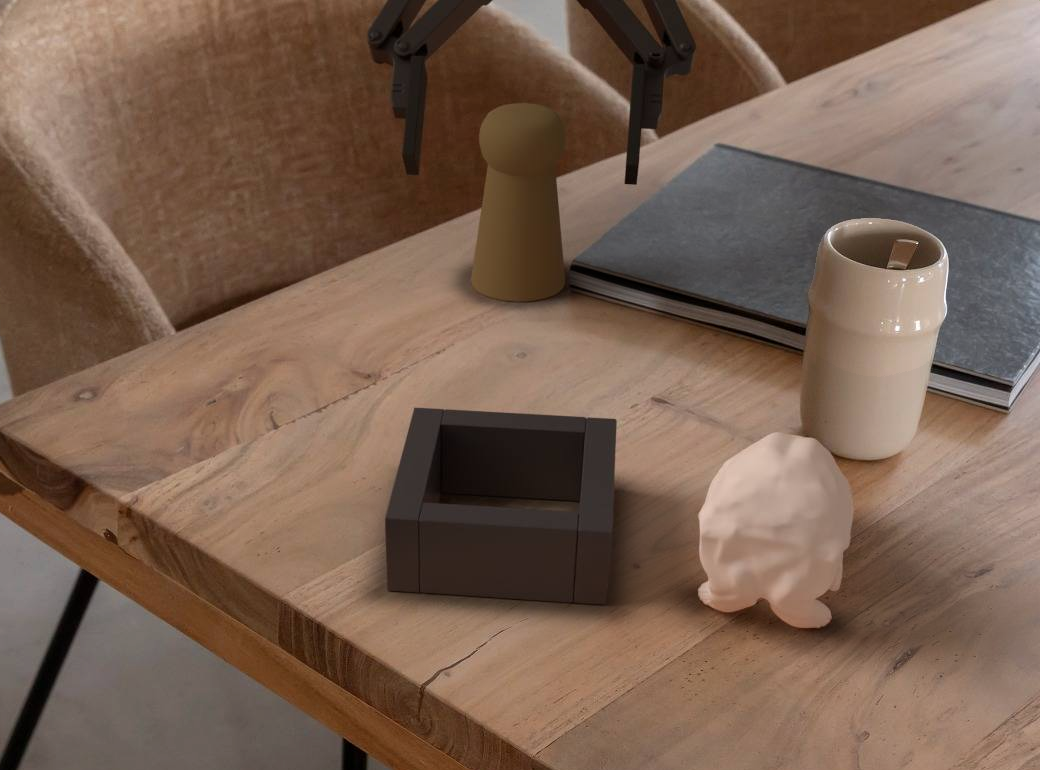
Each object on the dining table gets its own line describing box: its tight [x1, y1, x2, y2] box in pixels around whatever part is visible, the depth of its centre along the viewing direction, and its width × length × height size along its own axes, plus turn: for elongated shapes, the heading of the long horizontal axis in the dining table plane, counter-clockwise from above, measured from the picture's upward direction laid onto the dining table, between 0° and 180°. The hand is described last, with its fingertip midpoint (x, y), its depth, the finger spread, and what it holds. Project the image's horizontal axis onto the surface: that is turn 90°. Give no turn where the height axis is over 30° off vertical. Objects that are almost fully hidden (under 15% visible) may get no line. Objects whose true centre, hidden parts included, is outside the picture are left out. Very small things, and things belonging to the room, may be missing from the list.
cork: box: [470, 102, 567, 303], centre depth 90 cm, size 6×6×11 cm
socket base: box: [384, 407, 618, 606], centre depth 69 cm, size 10×10×4 cm
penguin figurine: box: [697, 431, 855, 629], centre depth 65 cm, size 6×8×12 cm
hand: (520, 171), depth 90 cm, fingers open, 13 cm apart
